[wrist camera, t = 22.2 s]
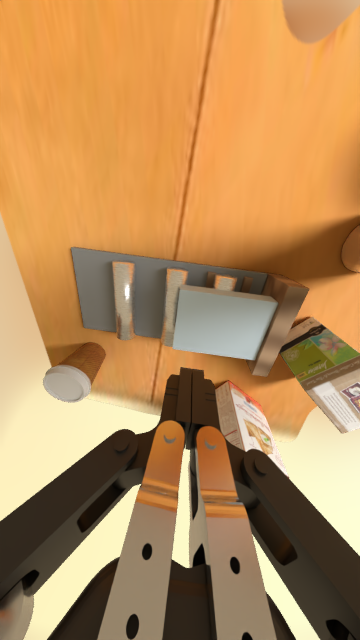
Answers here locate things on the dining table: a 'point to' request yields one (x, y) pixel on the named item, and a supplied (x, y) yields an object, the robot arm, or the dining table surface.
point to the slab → (222, 321)
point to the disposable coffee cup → (75, 374)
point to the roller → (225, 282)
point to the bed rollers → (126, 300)
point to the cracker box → (245, 423)
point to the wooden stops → (282, 320)
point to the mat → (138, 287)
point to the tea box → (326, 371)
